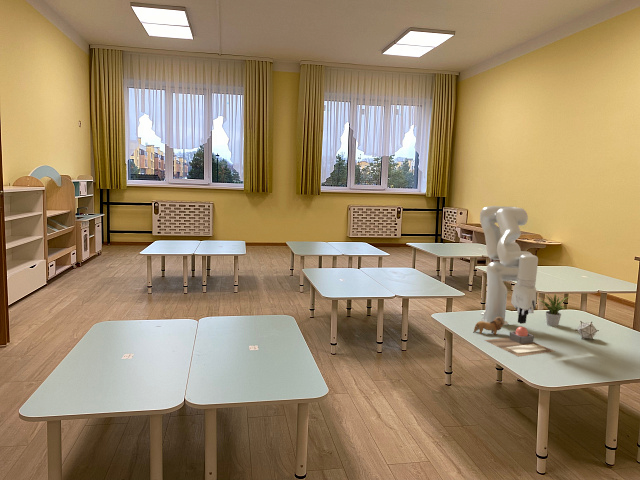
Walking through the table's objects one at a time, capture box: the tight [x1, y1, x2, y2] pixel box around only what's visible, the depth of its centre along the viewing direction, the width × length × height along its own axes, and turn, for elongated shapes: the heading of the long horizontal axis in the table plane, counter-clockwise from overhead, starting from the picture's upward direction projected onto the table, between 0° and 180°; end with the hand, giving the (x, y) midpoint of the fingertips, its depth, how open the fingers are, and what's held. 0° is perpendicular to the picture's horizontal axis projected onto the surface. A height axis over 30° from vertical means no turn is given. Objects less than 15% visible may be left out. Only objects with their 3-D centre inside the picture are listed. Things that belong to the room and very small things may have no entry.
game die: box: [574, 320, 600, 341], centre depth 219 cm, size 9×8×10 cm
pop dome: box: [515, 326, 529, 337], centre depth 210 cm, size 5×5×6 cm
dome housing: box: [508, 330, 535, 344], centre depth 211 cm, size 7×7×3 cm
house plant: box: [539, 293, 570, 327], centre depth 239 cm, size 14×14×16 cm
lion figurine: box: [472, 317, 504, 336], centre depth 219 cm, size 15×5×9 cm, turn 94°
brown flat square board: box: [484, 336, 556, 357], centre depth 204 cm, size 20×20×1 cm
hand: (521, 322), depth 211 cm, fingers closed
